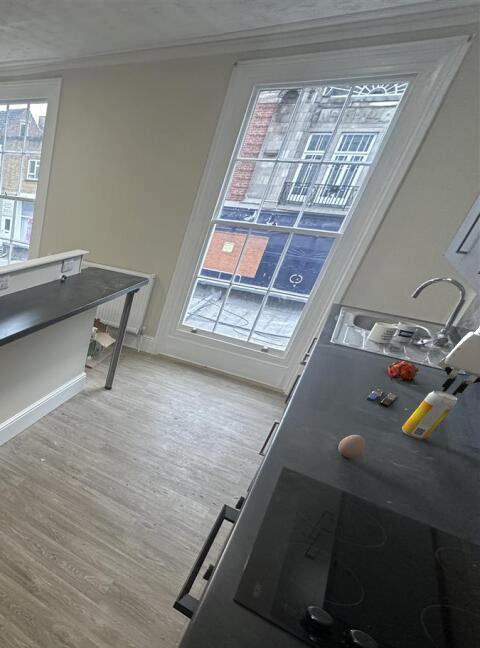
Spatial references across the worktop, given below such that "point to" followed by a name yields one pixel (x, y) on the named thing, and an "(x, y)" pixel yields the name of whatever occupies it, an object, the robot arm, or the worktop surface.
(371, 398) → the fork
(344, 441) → the egg
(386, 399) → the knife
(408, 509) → the worktop surface
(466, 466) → the worktop surface
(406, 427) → the beer can
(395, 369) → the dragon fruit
